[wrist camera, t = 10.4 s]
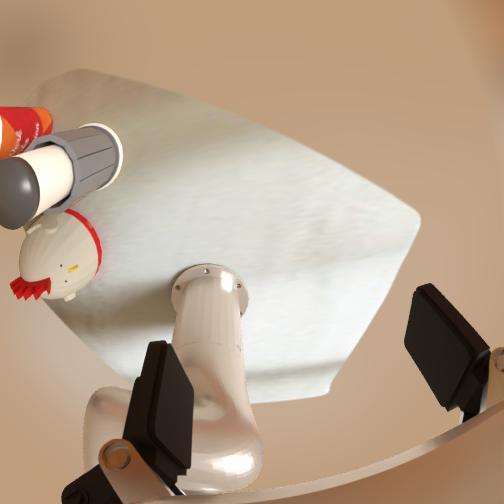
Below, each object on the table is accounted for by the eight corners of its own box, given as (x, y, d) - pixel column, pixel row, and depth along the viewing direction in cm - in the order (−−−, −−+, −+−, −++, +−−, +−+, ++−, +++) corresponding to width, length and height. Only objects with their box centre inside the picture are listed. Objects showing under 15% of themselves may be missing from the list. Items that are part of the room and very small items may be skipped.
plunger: (107, 179, 35) (38, 227, 19) (69, 184, 35) (-6, 231, 19) (103, 133, 32) (25, 153, 17) (64, 141, 32) (-19, 167, 16)
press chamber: (126, 186, 38) (91, 215, 27) (69, 193, 37) (24, 222, 26) (121, 118, 34) (80, 121, 23) (62, 129, 33) (11, 140, 22)
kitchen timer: (109, 283, 45) (76, 343, 32) (47, 282, 44) (8, 333, 30) (93, 203, 39) (42, 245, 25) (28, 210, 38) (-26, 249, 24)
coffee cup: (29, 160, 34) (-33, 186, 21) (15, 117, 30) (-48, 129, 17) (65, 136, 34) (2, 153, 20) (51, 90, 30) (-13, 90, 17)
